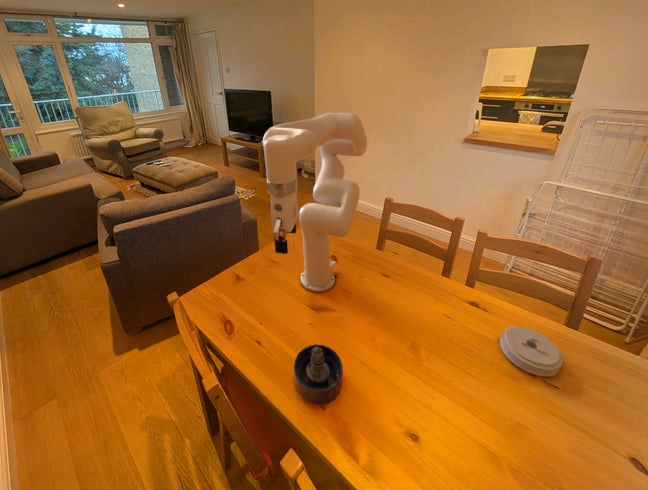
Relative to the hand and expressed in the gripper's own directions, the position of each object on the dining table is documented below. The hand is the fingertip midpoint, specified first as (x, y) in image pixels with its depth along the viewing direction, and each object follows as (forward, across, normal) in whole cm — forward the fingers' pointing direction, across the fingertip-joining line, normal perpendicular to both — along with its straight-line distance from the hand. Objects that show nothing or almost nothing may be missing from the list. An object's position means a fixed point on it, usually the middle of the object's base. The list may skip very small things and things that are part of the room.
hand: (286, 242), depth 81 cm
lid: (+31, +2, -65) cm, 71 cm away
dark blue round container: (+30, -17, -11) cm, 36 cm away
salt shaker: (+30, -17, -11) cm, 36 cm away
